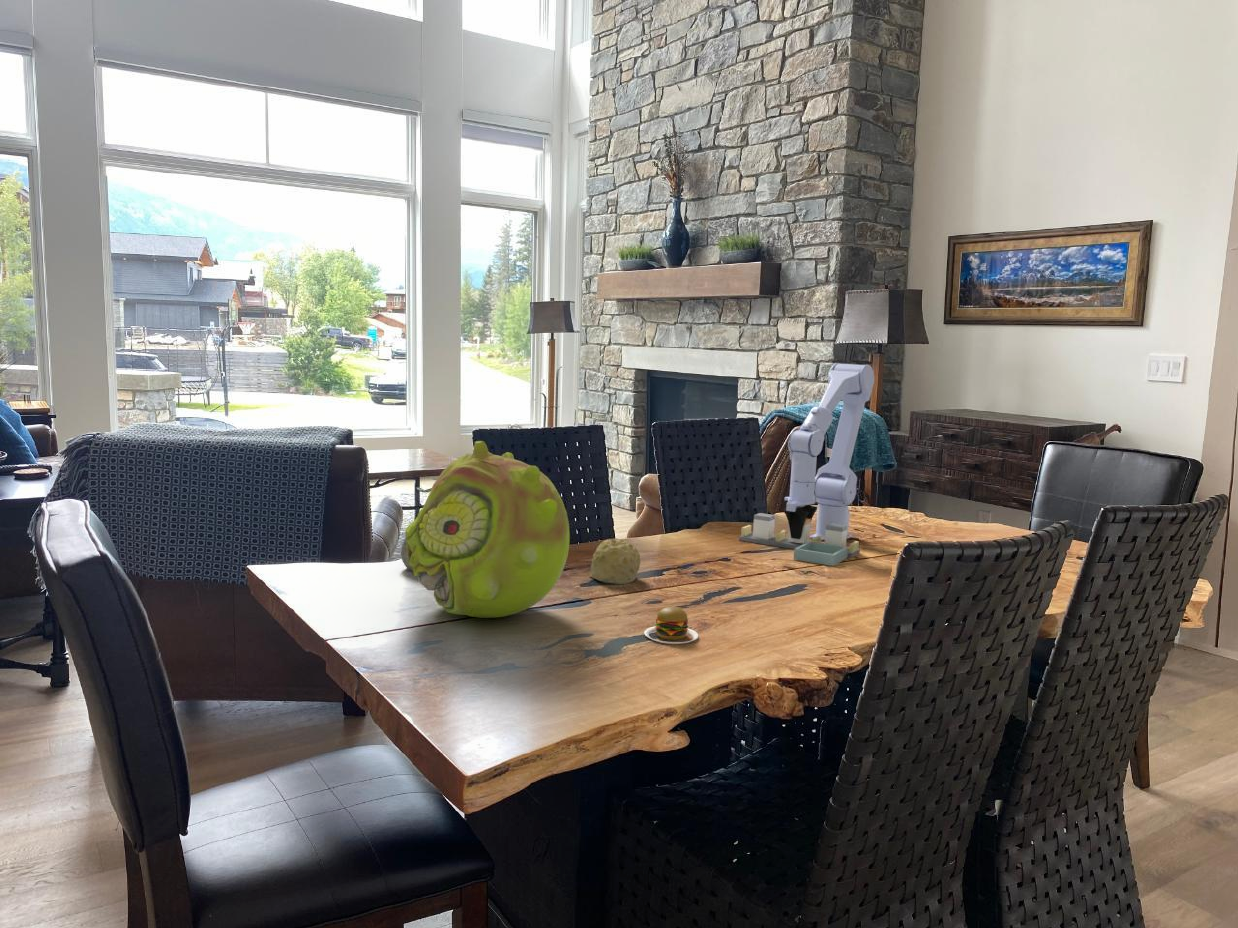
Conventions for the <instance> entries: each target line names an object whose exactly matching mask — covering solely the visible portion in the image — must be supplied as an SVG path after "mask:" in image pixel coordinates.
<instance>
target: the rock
mask: <svg viewBox="0 0 1238 928" xmlns="http://www.w3.org/2000/svg"><path fill="white" fill-rule="evenodd" d="M640 565H641V554H640V553H639V550H638V549H637V548H636V546H634V544H632V543H630V542H629V541H627V540H625V539H620V538H608V539H605V540H603V541H602V542H600V544H599V545H598V546H597V547H596V550H595V551H594V552H593V555H592V559H591V567H590V573H589V575H590V576H589V577H590V578H591V579H594V580H596V581H599V582H602V583H605V584H613V585H627V584H630V583H632V582H634V581H635V580H636V579H637V578H638V577H637V576H638V575H637V573H638V572H639V570H640V567H641V566H640Z"/></svg>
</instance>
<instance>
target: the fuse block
mask: <svg viewBox="0 0 1238 928" xmlns="http://www.w3.org/2000/svg"><path fill="white" fill-rule="evenodd" d="M752 527H753V526H752V524H751V525H750V524H748V525H745V526H742V527H741V531H740V534H741V535H739V536H738V541H741V542H746V543H754V544H761V545H764V546H766V545H767V546H770V547H771V546H773V547H778V548H785V549H789V550H791V549H792V550H794V549H795V548H797V547H799V546H801V545H803V543H796V542H790V541H788V537H786V533H787V530H783V529H782V530H780V531H777V532H776V533H775V535H774V537H773V538H771V539H768V540H767V539H761V538H755V537H753V532H752ZM821 539H822V536H819V535H818V536H816V537H814V538H811V540H812V541H811V542H818V543H822V540H821ZM809 541H810V540H809ZM809 541H808V542H809ZM806 543H807V542H806ZM804 544H805V543H804ZM859 544H860V543H859V541H857V540H854V541H853V542H851V543H850V544H849V546H847V547H848V556H847V558H846V559H853V558H854V557H856V556H858V555H859V554H860V553H861V549H860V548H859Z"/></svg>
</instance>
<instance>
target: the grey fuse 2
mask: <svg viewBox="0 0 1238 928" xmlns="http://www.w3.org/2000/svg"><path fill="white" fill-rule="evenodd" d="M846 537H847V525H841V524H834V523H830V524H828V525H826V531H825V540H824V544H831V545H837V546H844V547H847V546H846V545H847V539H846Z"/></svg>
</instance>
